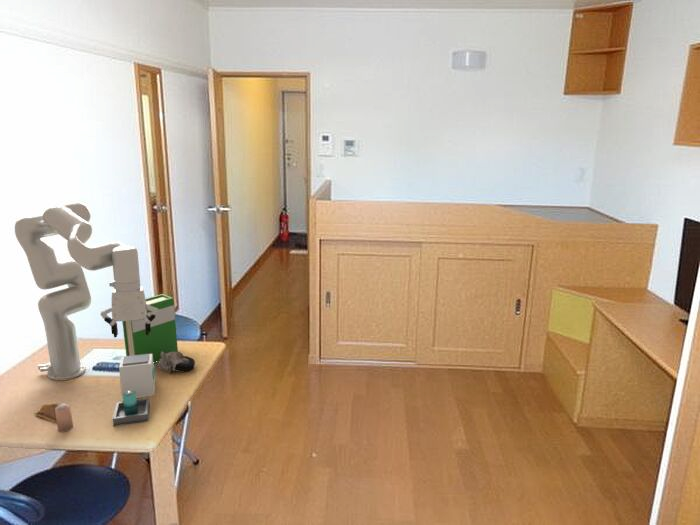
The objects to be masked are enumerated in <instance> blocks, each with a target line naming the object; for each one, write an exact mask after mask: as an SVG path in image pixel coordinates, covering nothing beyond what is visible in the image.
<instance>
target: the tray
mask: <svg viewBox="0 0 700 525" xmlns="http://www.w3.org/2000/svg"><path fill="white" fill-rule="evenodd" d="M115 403H116V404H115V408H114V411H113V416H112V425H113V427H116V426H123V425H130V424H137V423H144V422H148V421H149V416H150V415H149V414H150V408H151V407H150V406H151V402H150V397H148V398H147V397H146V398H141V399H139V398H138V399H137V406H138V413H137V414H135V415H128V416H126V415H125V412H124V404H123V401H117V402H115Z"/></svg>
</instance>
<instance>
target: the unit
mask: <svg viewBox="0 0 700 525" xmlns="http://www.w3.org/2000/svg"><path fill="white" fill-rule="evenodd" d="M118 370H119V371H118V372H119V380H120V387H121V394H123V393H124V392H125V391H127V390H134V391H136V397H139V398H145V397H144V396H146V397H152V395H154V396H155V392H156V390H155V389H156V378H155V376H156V375H155V363H153V355H152V354H142V355H133V356H126V355H125V356H122V357H121V359H120V362H119V367H118Z"/></svg>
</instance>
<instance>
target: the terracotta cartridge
mask: <svg viewBox="0 0 700 525" xmlns="http://www.w3.org/2000/svg"><path fill="white" fill-rule="evenodd" d="M60 404H61V405H59V406H57V407H56V408H55V413H56V419H57V423H56V424H57V431H59V432H68V431H70V430H71V429H73V427H74V426H73V424H74V423H73V418H72V412H71V410H72V409H71V406H70V404H67V403H60Z"/></svg>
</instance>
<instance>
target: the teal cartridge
mask: <svg viewBox="0 0 700 525" xmlns="http://www.w3.org/2000/svg"><path fill="white" fill-rule="evenodd" d="M121 394H122V393H121ZM121 396H122V402H123V404H124V412H125V415H126V416H128V415H135V414H137V413H138V406H137V400H138V399H137V397H136V391H134V390H127V391H125V392H124V393H123V394H122V395H121Z"/></svg>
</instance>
